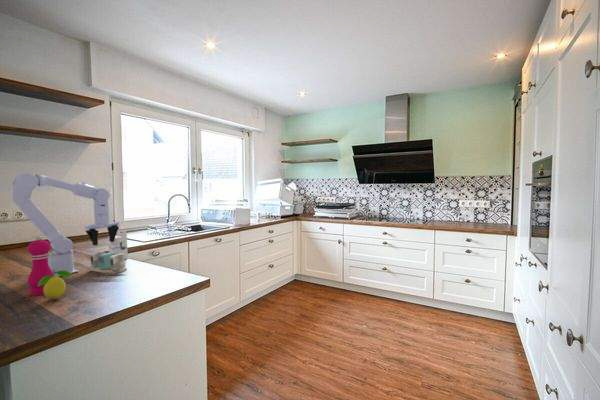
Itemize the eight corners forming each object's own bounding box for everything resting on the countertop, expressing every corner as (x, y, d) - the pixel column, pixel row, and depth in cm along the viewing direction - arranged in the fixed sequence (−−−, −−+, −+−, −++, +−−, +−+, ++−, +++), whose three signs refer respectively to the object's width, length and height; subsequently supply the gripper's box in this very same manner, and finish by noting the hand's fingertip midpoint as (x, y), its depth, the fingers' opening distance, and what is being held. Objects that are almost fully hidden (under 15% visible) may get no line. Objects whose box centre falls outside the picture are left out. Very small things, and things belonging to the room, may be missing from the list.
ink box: (108, 259, 144) (106, 230, 143) (118, 257, 148) (117, 229, 148) (118, 261, 140) (116, 231, 139) (128, 259, 144) (127, 230, 143)
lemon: (73, 295, 97) (71, 266, 96) (59, 302, 91) (57, 271, 90) (53, 295, 96) (51, 266, 96) (37, 302, 91) (35, 272, 90)
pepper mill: (53, 286, 105) (49, 233, 104) (58, 291, 101) (54, 235, 99) (26, 292, 100) (22, 236, 98) (30, 297, 95) (25, 238, 94)
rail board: (113, 274, 119) (112, 256, 119) (90, 270, 125) (89, 254, 125) (126, 270, 125) (125, 253, 124) (104, 266, 131) (103, 250, 130)
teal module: (104, 269, 121) (103, 255, 121) (98, 268, 123) (97, 255, 123) (116, 266, 126) (115, 252, 126) (110, 265, 128) (109, 252, 127)
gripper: (90, 216, 123) (93, 247, 124) (122, 212, 137) (124, 240, 138) (80, 216, 126) (82, 246, 127) (112, 212, 139) (114, 240, 140)
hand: (103, 243), depth 132 cm, fingers open, 7 cm apart
